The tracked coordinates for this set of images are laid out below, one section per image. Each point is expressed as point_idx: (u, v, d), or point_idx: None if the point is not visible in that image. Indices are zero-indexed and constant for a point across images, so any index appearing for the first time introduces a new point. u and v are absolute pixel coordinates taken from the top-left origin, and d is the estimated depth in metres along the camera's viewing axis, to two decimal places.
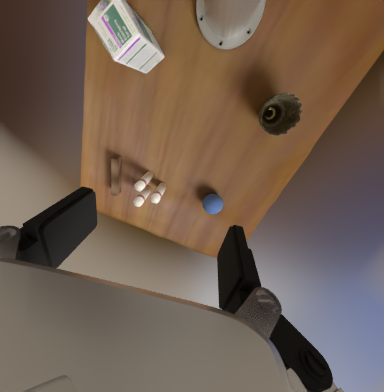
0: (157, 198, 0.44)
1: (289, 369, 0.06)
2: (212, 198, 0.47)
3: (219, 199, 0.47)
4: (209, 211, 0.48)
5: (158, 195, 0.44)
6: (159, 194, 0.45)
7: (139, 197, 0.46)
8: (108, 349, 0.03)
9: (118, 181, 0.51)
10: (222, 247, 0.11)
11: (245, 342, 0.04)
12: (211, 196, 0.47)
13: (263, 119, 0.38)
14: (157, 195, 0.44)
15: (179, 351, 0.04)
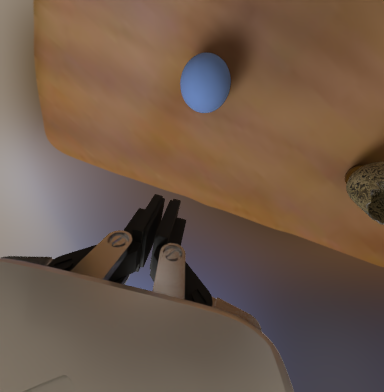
0: None
1: None
2: (228, 82, 0.19)
3: (222, 101, 0.20)
4: (194, 72, 0.17)
5: None
6: None
7: None
8: (108, 349, 0.03)
9: None
10: None
11: (245, 342, 0.04)
12: None
13: None
14: None
15: (179, 351, 0.04)
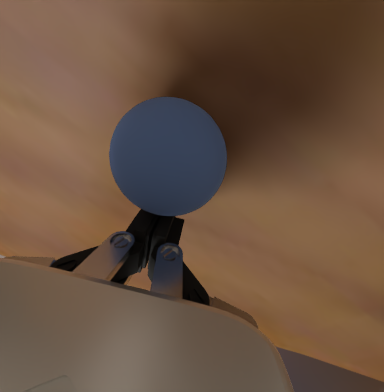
0: None
1: None
2: (224, 146, 0.08)
3: (210, 183, 0.07)
4: (144, 103, 0.07)
5: None
6: None
7: None
8: (108, 349, 0.03)
9: None
10: None
11: (245, 342, 0.04)
12: None
13: None
14: None
15: (179, 351, 0.04)
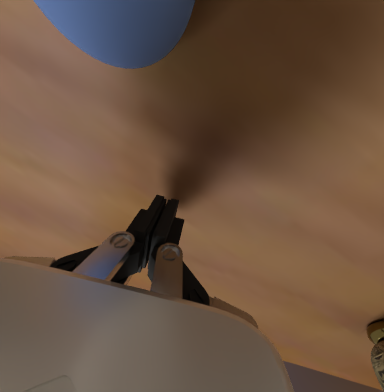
0: None
1: None
2: None
3: None
4: None
5: None
6: None
7: None
8: (108, 349, 0.03)
9: None
10: None
11: (245, 342, 0.04)
12: None
13: None
14: None
15: (179, 351, 0.04)
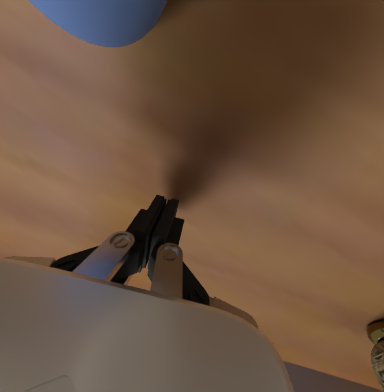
0: None
1: None
2: None
3: None
4: None
5: None
6: None
7: None
8: (108, 349, 0.03)
9: None
10: None
11: (245, 342, 0.04)
12: None
13: None
14: None
15: (179, 351, 0.04)
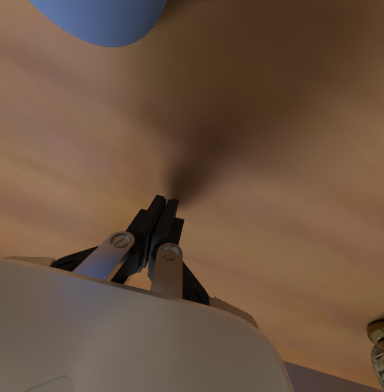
0: None
1: None
2: None
3: None
4: None
5: None
6: None
7: None
8: (108, 349, 0.03)
9: None
10: None
11: (245, 342, 0.04)
12: None
13: None
14: None
15: (179, 351, 0.04)
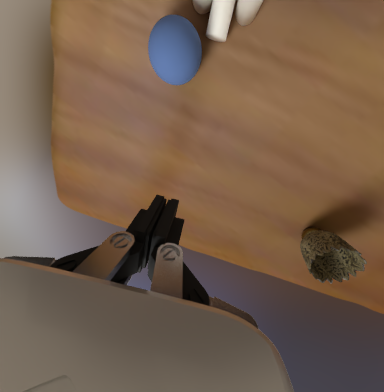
0: None
1: None
2: (187, 59, 0.17)
3: (199, 60, 0.19)
4: (166, 81, 0.20)
5: None
6: None
7: None
8: (108, 349, 0.03)
9: None
10: None
11: (245, 342, 0.04)
12: (183, 50, 0.17)
13: None
14: None
15: (179, 351, 0.04)
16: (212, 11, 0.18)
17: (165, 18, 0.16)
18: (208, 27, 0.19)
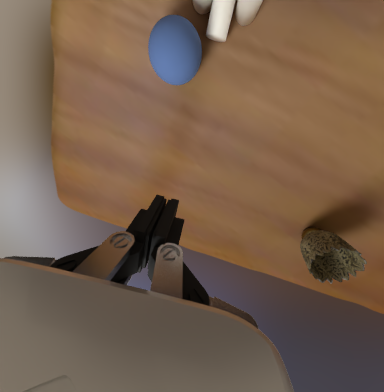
0: None
1: None
2: (187, 59, 0.17)
3: (199, 60, 0.19)
4: (166, 81, 0.20)
5: None
6: None
7: None
8: (108, 349, 0.03)
9: None
10: None
11: (245, 342, 0.04)
12: (183, 50, 0.17)
13: None
14: None
15: (179, 351, 0.04)
16: (212, 11, 0.18)
17: (165, 18, 0.16)
18: (208, 27, 0.19)
